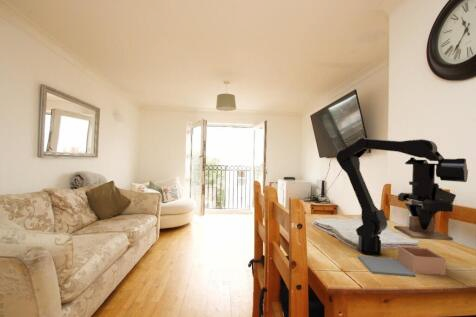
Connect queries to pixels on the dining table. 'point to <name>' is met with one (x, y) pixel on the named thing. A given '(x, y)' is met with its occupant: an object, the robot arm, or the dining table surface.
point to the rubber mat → (385, 266)
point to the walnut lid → (421, 230)
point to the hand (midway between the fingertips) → (421, 228)
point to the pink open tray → (422, 260)
